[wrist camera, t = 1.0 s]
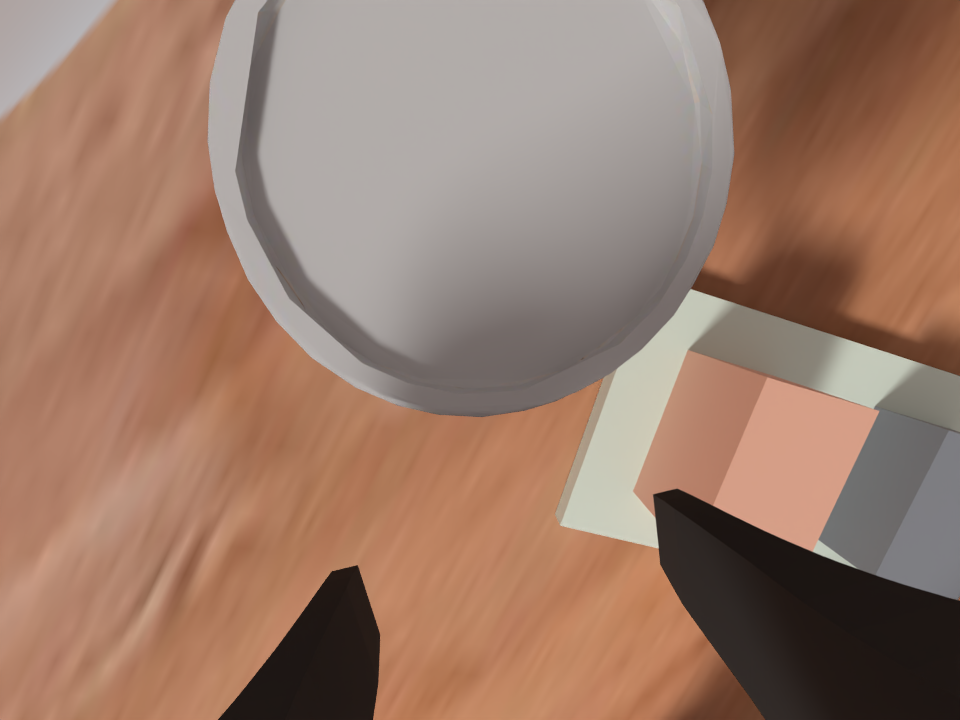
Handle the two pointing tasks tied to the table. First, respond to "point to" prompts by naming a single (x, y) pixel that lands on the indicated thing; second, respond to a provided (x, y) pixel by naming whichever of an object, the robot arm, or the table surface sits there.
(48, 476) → the table surface
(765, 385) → the terracotta brick
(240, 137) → the disposable coffee cup
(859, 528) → the charcoal brick
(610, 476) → the baseplate
